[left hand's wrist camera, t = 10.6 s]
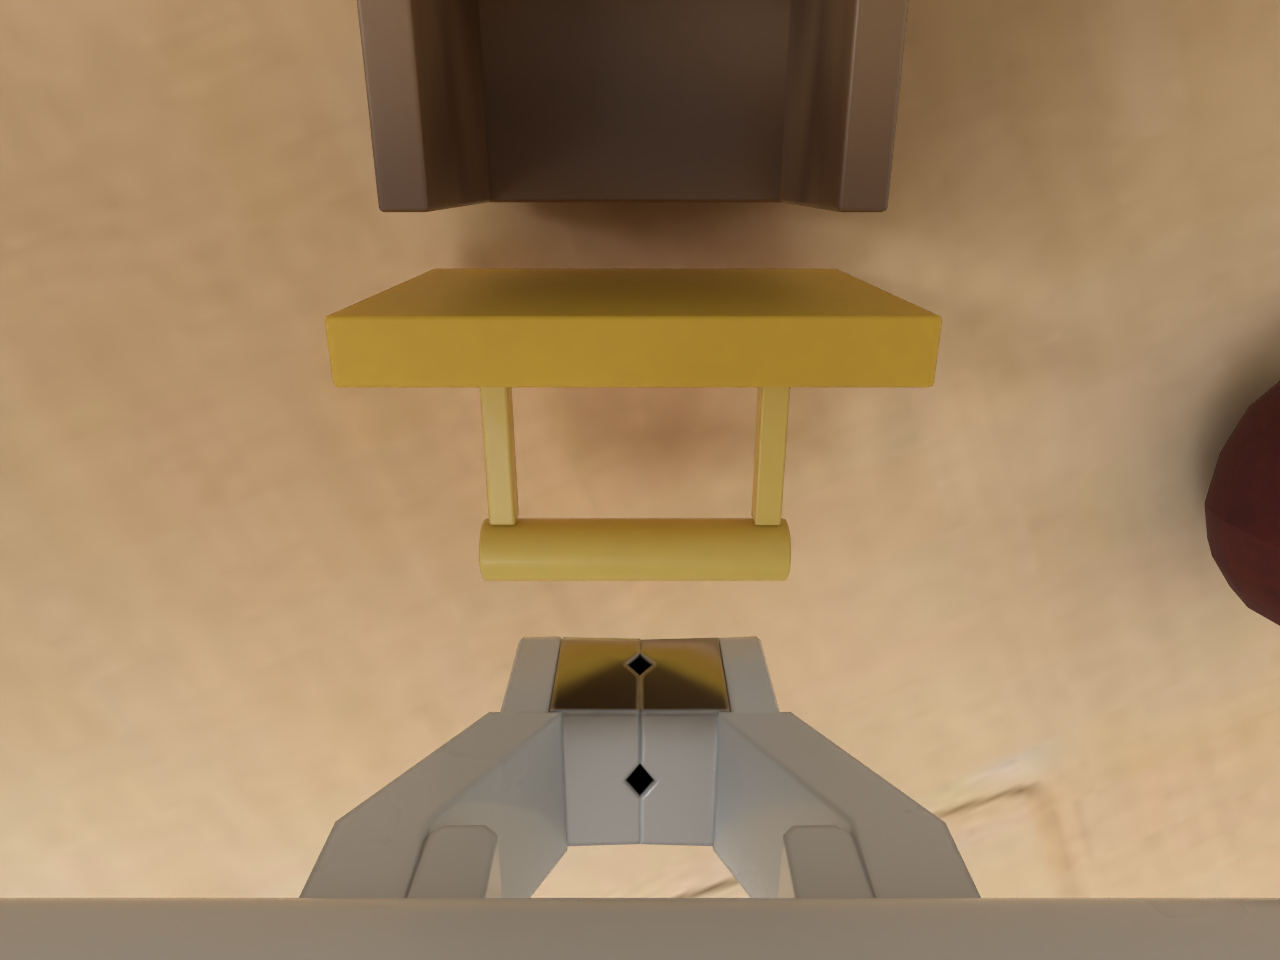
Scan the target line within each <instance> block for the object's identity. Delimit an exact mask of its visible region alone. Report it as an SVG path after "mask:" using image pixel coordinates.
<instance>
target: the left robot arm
mask: <svg viewBox="0 0 1280 960" xmlns="http://www.w3.org/2000/svg"><path fill="white" fill-rule="evenodd" d="M619 844H659V845H695V846H713V850H714V851H715V853H716V854H717V855H718V857H719V858H720V859H721V860H722V862H723V863H724V864H725V866H726V867H727V868H728V869H729V871H730V872H731V873H732V874H733V876H734V877H735V878H736V880H737V881H738V882H739V883H740V885H741V886H742V887H743V889H744V890H745V891H746V892H747V894H748V895H749V896H750V898H530V897H531V896H532V894H533V893H534V892H535V890H536V889H537V888H538V887H539V885H540V884H541V883H542V882H543V880H544V879H545V878H546V876H547V875H548V874H549V873H550V871H551V870H552V869H553V868H554V866H555V865H556V864H557V862H558V861H559V860H560V859H561V857H562V856H563V855H564V854H565V852H566V851H567V846H584V845H619ZM0 960H1280V898H981V897H980V895H979V893H978V891H977V889H976V886H975V884H974V882H973V880H972V878H971V876H970V874H969V872H968V870H967V867H966V865H965V863H964V861H963V859H962V857H961V855H960V853H959V851H958V849H957V846H956V844H955V842H954V840H953V838H952V836H951V834H950V832H949V830H948V828H947V825H946V823H945V822H943V821H942V820H940V819H939V818H938V817H936V816H935V815H933V814H932V813H931V812H929V811H928V810H926V809H925V808H924V807H922V806H921V805H919V804H918V803H917V802H915V801H914V800H913V799H911V798H910V797H908V796H907V795H906V794H904V793H903V792H901V791H900V790H899V789H897V788H896V787H894V786H893V785H892V784H890V783H889V782H887V781H886V780H885V779H883V778H882V777H880V776H879V775H878V774H876V773H875V772H873V771H872V770H871V769H869V768H868V767H866V766H865V765H864V764H862V763H861V762H860V761H858V760H857V759H855V758H854V757H853V756H851V755H850V754H848V753H847V752H846V751H844V750H843V749H841V748H840V747H839V746H837V745H836V744H834V743H833V742H832V741H830V740H829V739H827V738H826V737H825V736H823V735H822V734H820V733H819V732H818V731H816V730H815V729H813V728H812V727H811V726H809V725H808V724H807V723H805V722H804V721H802V720H801V719H800V718H798V717H797V716H795V715H794V714H793V713H791V712H779V708H778V705H777V701H776V697H775V693H774V690H773V686H772V682H771V679H770V675H769V671H768V667H767V664H766V660H765V656H764V653H763V649H762V645H761V641H760V639H758V638H757V637H732V638H692V639H652V640H640V639H619V638H567V637H563V639H561V638H560V637H524V638H523V639H522V640H521V641H520V642H519V644H518V648H517V652H516V655H515V659H514V663H513V667H512V671H511V674H510V678H509V682H508V686H507V689H506V693H505V697H504V701H503V704H502V708H501V712H489V713H487V714H486V715H485V716H483V717H482V718H480V719H479V720H478V721H476V722H475V723H473V724H472V725H471V726H469V727H468V728H466V729H465V730H464V731H462V732H461V733H459V734H458V735H457V736H455V737H454V738H452V739H451V740H450V741H448V742H447V743H445V744H444V745H443V746H441V747H440V748H438V749H437V750H436V751H434V752H433V753H431V754H430V755H429V756H427V757H426V758H424V759H423V760H422V761H420V762H419V763H417V764H416V765H415V766H413V767H412V768H410V769H409V770H408V771H406V772H405V773H403V774H402V775H401V776H399V777H398V778H396V779H395V780H394V781H392V782H391V783H389V784H388V785H387V786H385V787H384V788H382V789H381V790H380V791H378V792H377V793H375V794H374V795H373V796H371V797H370V798H368V799H367V800H366V801H364V802H363V803H361V804H360V805H359V806H357V807H356V808H354V809H353V810H352V811H350V812H349V813H347V814H346V815H345V816H343V817H342V818H340V819H339V820H338V821H336V822H335V824H334V826H333V828H332V830H331V833H330V835H329V837H328V839H327V841H326V843H325V845H324V847H323V849H322V851H321V853H320V855H319V857H318V860H317V862H316V864H315V866H314V868H313V870H312V872H311V874H310V876H309V878H308V880H307V882H306V884H305V886H304V889H303V891H302V893H301V895H300V897H299V898H0Z"/></svg>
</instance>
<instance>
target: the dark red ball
mask: <svg viewBox="0 0 1280 960" xmlns="http://www.w3.org/2000/svg"><path fill="white" fill-rule="evenodd" d="M1205 513H1206V526H1207V538H1208V542H1209V546H1210V550H1211V553H1212V557H1213V558H1214V560H1215V562H1216V563H1217V565H1218V567H1219V569H1220V570H1221V572H1222V574H1223V575H1224V577H1225V579H1226V580H1227V582H1228V584H1229V586H1230V587H1231V588H1232V589H1233V591H1234V592H1235V593H1236V594H1237V595H1238V596H1239V598H1240V599H1241V600H1242V601H1243V602H1244V603H1245V605H1246V606H1247V607H1248V608H1250V609H1252V610H1253V611H1255V612H1257V613H1259V614H1260V615H1262V616H1264V617H1266V618H1267V619H1269V620H1271V621H1273V622H1274V623H1276V624H1278V625H1280V381H1279V382H1278V383H1277V384H1276V385H1274V386H1273V387H1272V388H1271V389H1270V390H1268V391H1267V392H1266V393H1265V394H1264V395H1262V396H1261V397H1260V398H1259V399H1258V400H1256V401H1255V402H1254V403H1253V404H1252V405H1250V406H1249V408H1248V409H1247V411H1246V412H1245V414H1244V416H1243V417H1242V419H1241V420H1240V422H1239V424H1238V425H1237V427H1236V428H1235V430H1234V432H1233V433H1232V435H1231V436H1230V438H1229V440H1228V441H1227V443H1226V444H1225V446H1224V448H1223V449H1222V451H1221V452H1220V455H1219V458H1218V462H1217V465H1216V468H1215V471H1214V475H1213V478H1212V481H1211V484H1210V488H1209V491H1208V494H1207V497H1206V500H1205Z"/></svg>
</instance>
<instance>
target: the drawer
mask: <svg viewBox="0 0 1280 960" xmlns="http://www.w3.org/2000/svg"><path fill="white" fill-rule="evenodd" d="M357 5H358V15H359V24H360V34H361V43H362V52H363V62H364V71H365V81H366V90H367V99H368V109H369V118H370V127H371V137H372V146H373V156H374V165H375V174H376V184H377V193H378V203H379V208H380V210H381V211H383V212H429V211H435V210H442V209H448V208H454V207H461V206H467V205H474V204H480V203H487V202H783V203H789V204H795V205H802V206H808V207H814V208H820V209H826V210H832V211H838V212H883V211H886V209H887V206H888V196H889V187H890V177H891V167H892V157H893V147H894V137H895V128H896V118H897V108H898V98H899V88H900V78H901V69H902V59H903V49H904V39H905V29H906V19H907V10H908V0H357ZM941 323H942V320H941V317H940V316H938V315H936V314H934V313H931V312H929V311H927V310H925V309H923V308H920V307H918V306H916V305H914V304H912V303H909V302H907V301H905V300H903V299H901V298H899V297H896V296H894V295H892V294H890V293H888V292H885V291H883V290H881V289H879V288H877V287H874V286H872V285H870V284H868V283H866V282H864V281H861V280H859V279H857V278H855V277H853V276H850V275H848V274H846V273H844V272H842V271H839V270H837V269H433V270H431V271H429V272H426V273H424V274H422V275H420V276H417V277H415V278H413V279H410V280H408V281H406V282H404V283H401V284H399V285H397V286H395V287H392V288H390V289H388V290H385V291H383V292H381V293H379V294H376V295H374V296H372V297H370V298H367V299H365V300H363V301H361V302H358V303H356V304H354V305H351V306H349V307H347V308H345V309H342V310H340V311H338V312H336V313H333V314H331V315H329V316H326V319H325V324H326V332H327V339H328V347H329V354H330V361H331V369H332V376H333V383H334V385H335V386H337V387H480V396H481V410H482V425H483V439H484V453H485V467H486V481H487V496H488V510H489V519H485V520H484V522H483V524H482V528H481V533H480V541H479V562H480V570H481V574H482V577H483V579H484V580H486V581H784V580H786V579H787V577H788V575H789V571H790V563H791V541H790V532H789V527H788V524H787V521H786V520H785V519H783V518H781V512H782V497H783V482H784V467H785V452H786V437H787V422H788V407H789V392H790V387H930V386H932V385H933V383H934V377H935V370H936V362H937V354H938V346H939V339H940V331H941ZM511 387H758V402H757V421H756V440H755V459H754V478H753V497H752V517H753V519H517V517H518V515H519V512H518V494H517V477H516V459H515V441H514V423H513V406H512V388H511Z"/></svg>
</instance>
